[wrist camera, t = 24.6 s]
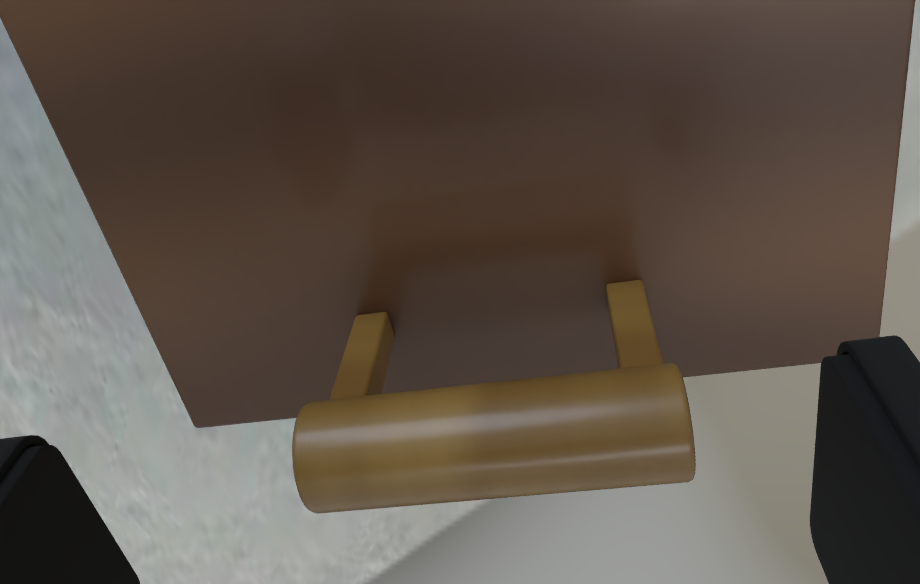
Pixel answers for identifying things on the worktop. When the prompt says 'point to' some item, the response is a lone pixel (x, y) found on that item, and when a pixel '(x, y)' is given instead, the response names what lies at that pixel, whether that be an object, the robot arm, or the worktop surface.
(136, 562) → the worktop surface
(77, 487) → the robot arm
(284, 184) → the lid
